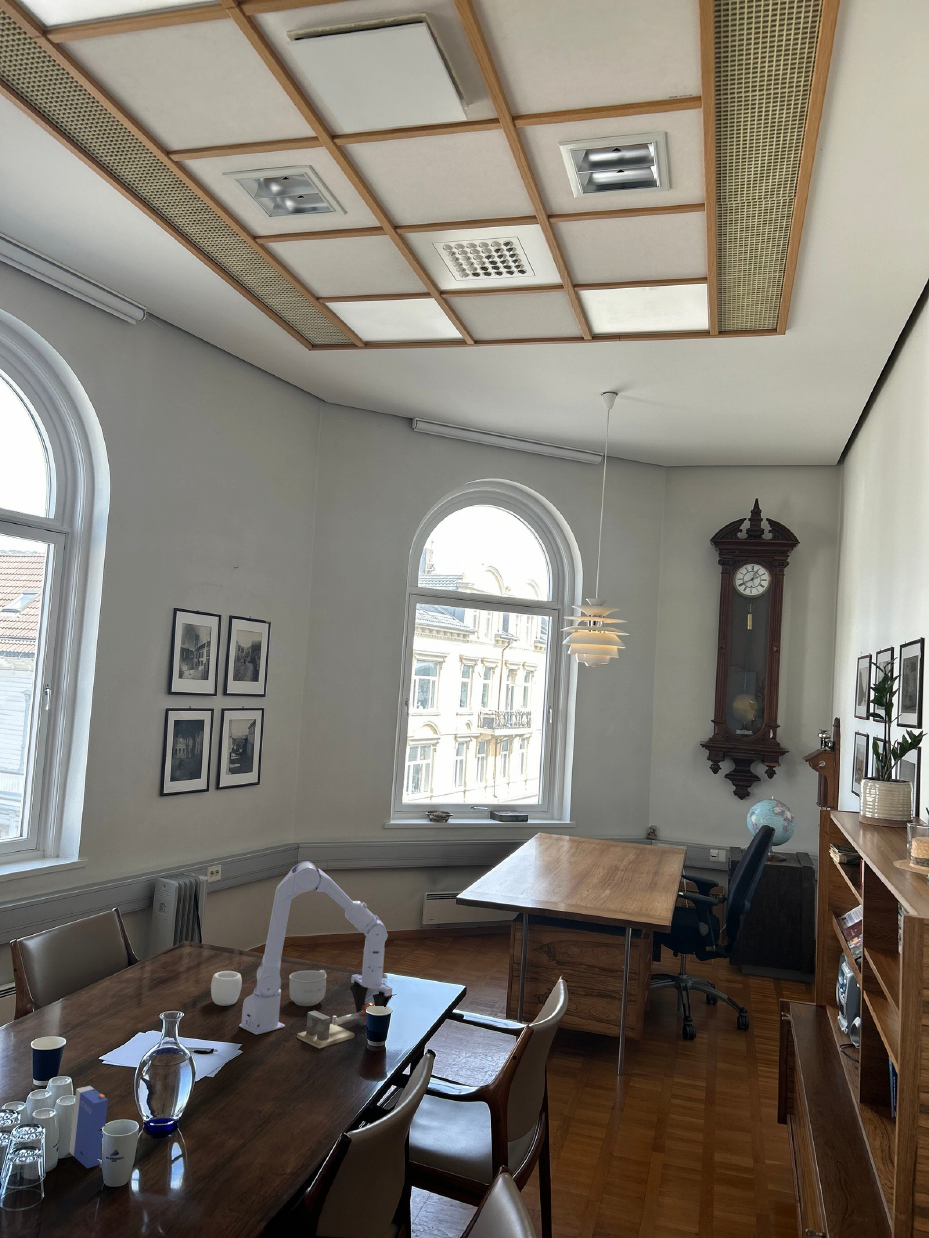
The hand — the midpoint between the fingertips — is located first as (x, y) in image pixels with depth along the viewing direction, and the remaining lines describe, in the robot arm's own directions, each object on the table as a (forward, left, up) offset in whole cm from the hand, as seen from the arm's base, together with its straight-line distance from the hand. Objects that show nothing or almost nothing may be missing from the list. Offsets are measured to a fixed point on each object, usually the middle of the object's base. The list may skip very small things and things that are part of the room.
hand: (369, 1015), depth 248 cm
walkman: (-89, -18, -3) cm, 91 cm away
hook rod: (-6, 0, -1) cm, 6 cm away
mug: (-20, +39, -3) cm, 44 cm away
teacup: (-1, +24, -3) cm, 24 cm away
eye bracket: (-16, 0, -2) cm, 16 cm away
